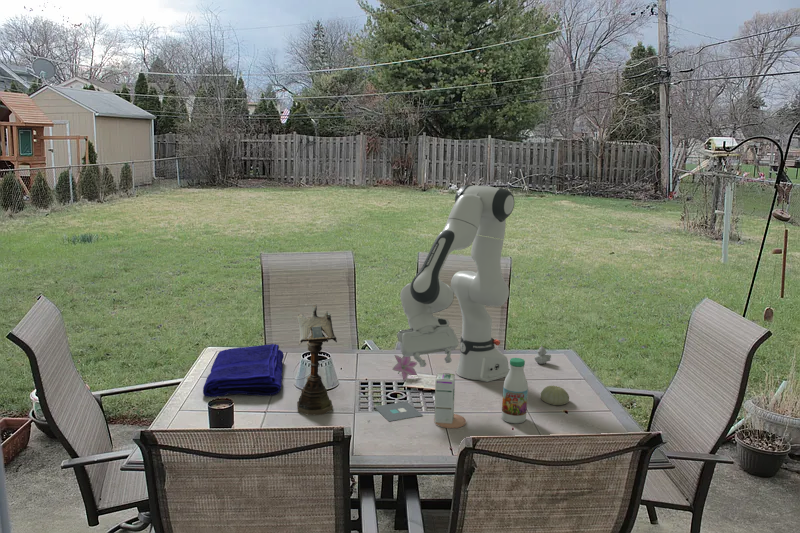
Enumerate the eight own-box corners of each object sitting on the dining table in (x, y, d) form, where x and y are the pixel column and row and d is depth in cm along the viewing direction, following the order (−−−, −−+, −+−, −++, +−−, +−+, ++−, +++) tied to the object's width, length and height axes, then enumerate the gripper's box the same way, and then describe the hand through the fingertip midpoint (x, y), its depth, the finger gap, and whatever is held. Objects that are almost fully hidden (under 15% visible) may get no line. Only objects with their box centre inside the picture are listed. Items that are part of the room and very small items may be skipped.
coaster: (455, 412, 209) (455, 411, 209) (471, 425, 200) (471, 423, 200) (428, 417, 205) (428, 416, 205) (443, 430, 196) (443, 429, 196)
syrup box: (452, 424, 199) (454, 380, 196) (433, 422, 200) (435, 378, 197) (453, 416, 205) (455, 373, 202) (435, 415, 206) (437, 372, 203)
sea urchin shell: (555, 404, 213) (545, 381, 217) (542, 413, 220) (533, 391, 223) (576, 399, 218) (566, 377, 222) (564, 409, 224) (554, 387, 228)
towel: (201, 399, 215) (201, 374, 213) (216, 363, 250) (215, 341, 248) (281, 397, 219) (281, 372, 217) (284, 362, 253) (284, 340, 252)
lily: (387, 383, 236) (396, 366, 232) (384, 363, 245) (393, 346, 240) (414, 389, 239) (424, 373, 235) (411, 369, 248) (420, 353, 244)
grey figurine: (532, 361, 261) (534, 342, 260) (549, 361, 261) (550, 342, 260) (535, 365, 256) (537, 346, 254) (552, 366, 256) (553, 346, 254)
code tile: (406, 401, 217) (406, 401, 217) (423, 415, 206) (423, 415, 206) (374, 407, 212) (374, 406, 212) (388, 421, 201) (388, 420, 201)
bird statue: (341, 420, 201) (342, 312, 194) (299, 423, 198) (299, 313, 192) (335, 399, 217) (336, 299, 210) (296, 401, 214) (295, 300, 208)
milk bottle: (498, 414, 209) (502, 355, 205) (522, 413, 210) (526, 355, 206) (504, 424, 201) (508, 363, 198) (528, 424, 202) (532, 363, 198)
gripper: (398, 326, 209) (411, 364, 203) (452, 319, 218) (466, 355, 212) (392, 335, 214) (404, 372, 208) (445, 328, 223) (459, 364, 216)
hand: (436, 364), depth 210 cm, fingers open, 8 cm apart
